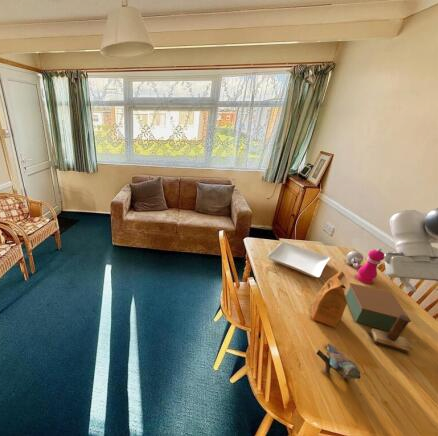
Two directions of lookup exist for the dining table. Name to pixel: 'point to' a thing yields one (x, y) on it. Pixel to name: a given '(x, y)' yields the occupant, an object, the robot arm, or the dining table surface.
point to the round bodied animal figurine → (354, 258)
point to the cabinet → (373, 306)
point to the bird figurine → (339, 363)
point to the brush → (393, 336)
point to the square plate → (299, 259)
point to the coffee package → (330, 301)
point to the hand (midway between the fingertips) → (427, 292)
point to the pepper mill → (370, 266)
